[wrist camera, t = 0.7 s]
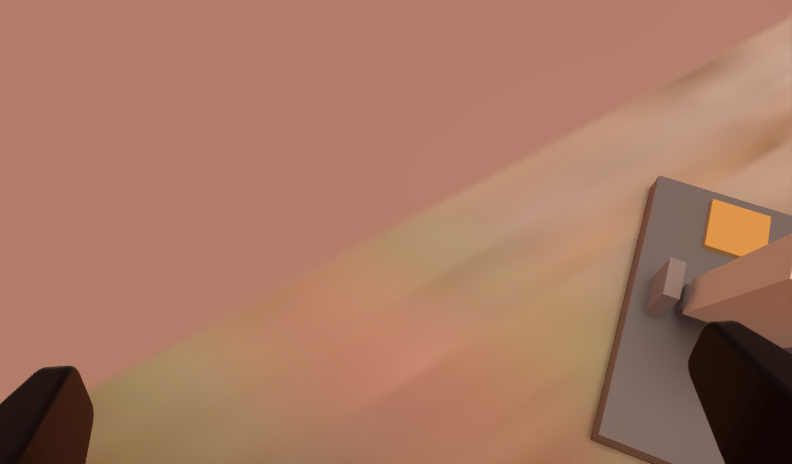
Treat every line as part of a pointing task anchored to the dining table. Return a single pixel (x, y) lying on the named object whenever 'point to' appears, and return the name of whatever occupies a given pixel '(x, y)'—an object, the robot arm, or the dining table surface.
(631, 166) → the dining table surface
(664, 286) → the switch unit
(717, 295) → the marked lever
